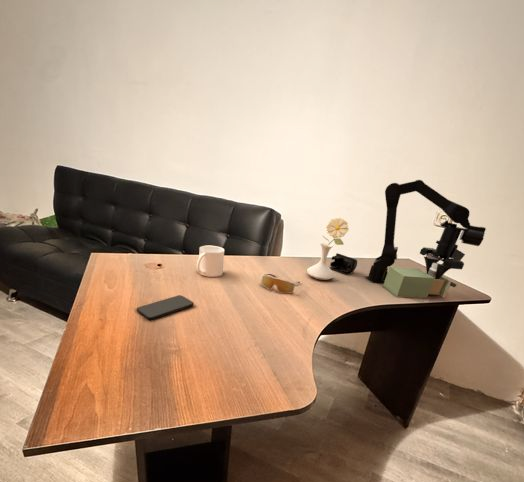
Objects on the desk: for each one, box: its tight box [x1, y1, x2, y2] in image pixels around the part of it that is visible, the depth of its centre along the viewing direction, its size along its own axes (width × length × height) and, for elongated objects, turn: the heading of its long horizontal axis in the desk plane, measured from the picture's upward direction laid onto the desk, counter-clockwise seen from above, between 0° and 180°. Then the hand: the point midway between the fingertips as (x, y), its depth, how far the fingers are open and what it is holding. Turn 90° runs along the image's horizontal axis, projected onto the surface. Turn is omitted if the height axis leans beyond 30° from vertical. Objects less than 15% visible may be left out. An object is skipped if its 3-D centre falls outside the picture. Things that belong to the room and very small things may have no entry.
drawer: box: [428, 275, 457, 297], centre depth 126 cm, size 17×9×7 cm, turn 100°
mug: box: [195, 245, 225, 278], centre depth 113 cm, size 12×9×9 cm
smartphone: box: [136, 294, 195, 321], centre depth 87 cm, size 7×1×15 cm
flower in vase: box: [306, 217, 349, 281], centre depth 121 cm, size 13×11×25 cm
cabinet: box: [382, 266, 435, 299], centre depth 123 cm, size 14×11×9 cm
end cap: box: [329, 252, 358, 276], centre depth 138 cm, size 10×7×7 cm
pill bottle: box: [426, 262, 440, 278], centre depth 123 cm, size 5×5×8 cm
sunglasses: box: [261, 273, 302, 294], centre depth 113 cm, size 14×15×5 cm
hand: (432, 278), depth 124 cm, fingers closed on pill bottle, 5 cm apart
